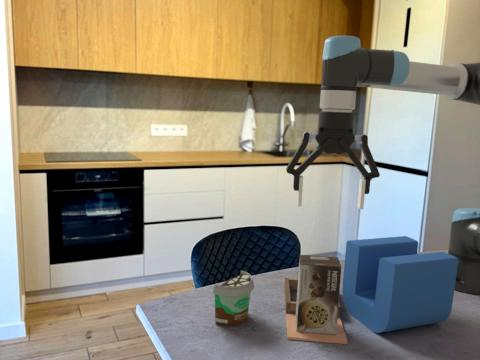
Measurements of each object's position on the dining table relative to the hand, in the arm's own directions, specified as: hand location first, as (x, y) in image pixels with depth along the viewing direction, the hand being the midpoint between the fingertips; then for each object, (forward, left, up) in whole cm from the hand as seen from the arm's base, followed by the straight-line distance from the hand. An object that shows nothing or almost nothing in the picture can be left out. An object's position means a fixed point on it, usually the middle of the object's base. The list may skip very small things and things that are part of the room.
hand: (329, 206), depth 103 cm
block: (-18, -6, -29) cm, 35 cm away
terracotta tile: (+1, +3, -29) cm, 29 cm away
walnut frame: (+1, -12, -29) cm, 31 cm away
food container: (+19, +1, -29) cm, 35 cm away
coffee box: (+1, +3, -28) cm, 28 cm away
